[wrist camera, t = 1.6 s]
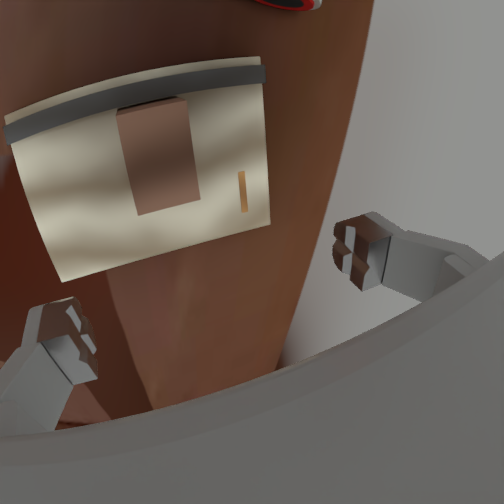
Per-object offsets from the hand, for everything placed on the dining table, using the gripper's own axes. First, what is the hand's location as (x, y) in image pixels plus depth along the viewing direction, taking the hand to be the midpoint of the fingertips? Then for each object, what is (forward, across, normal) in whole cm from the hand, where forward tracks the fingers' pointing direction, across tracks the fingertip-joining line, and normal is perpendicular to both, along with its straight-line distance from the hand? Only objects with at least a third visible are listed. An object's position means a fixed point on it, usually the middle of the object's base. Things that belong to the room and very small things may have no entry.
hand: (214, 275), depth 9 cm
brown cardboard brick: (+18, 0, 0) cm, 18 cm away
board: (+20, +1, +2) cm, 20 cm away
